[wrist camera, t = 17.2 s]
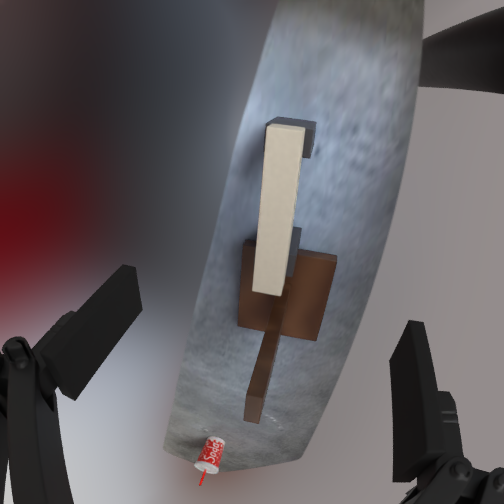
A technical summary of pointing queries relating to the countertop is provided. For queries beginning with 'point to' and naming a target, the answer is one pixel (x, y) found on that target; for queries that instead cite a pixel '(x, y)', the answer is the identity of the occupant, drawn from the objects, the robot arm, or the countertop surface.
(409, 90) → the countertop surface
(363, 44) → the countertop surface
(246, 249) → the headphone stand
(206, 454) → the beverage cup
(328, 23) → the countertop surface
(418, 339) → the robot arm
